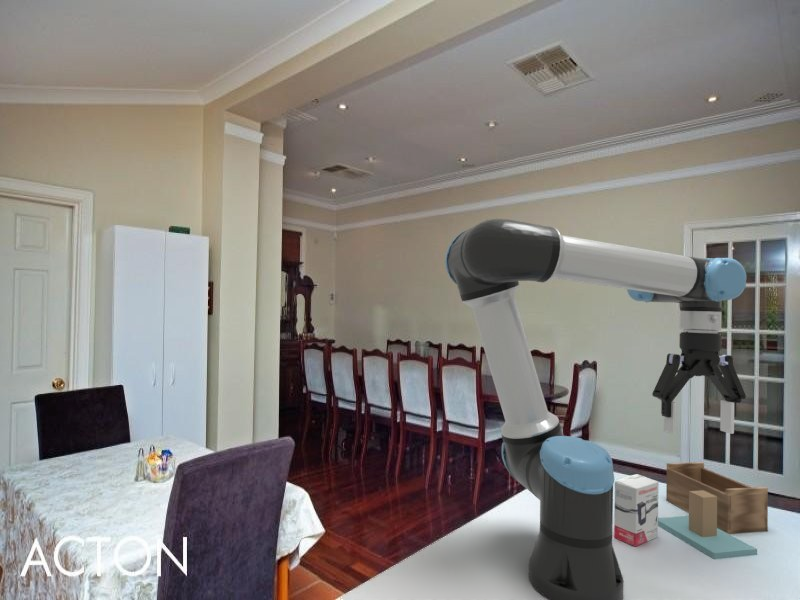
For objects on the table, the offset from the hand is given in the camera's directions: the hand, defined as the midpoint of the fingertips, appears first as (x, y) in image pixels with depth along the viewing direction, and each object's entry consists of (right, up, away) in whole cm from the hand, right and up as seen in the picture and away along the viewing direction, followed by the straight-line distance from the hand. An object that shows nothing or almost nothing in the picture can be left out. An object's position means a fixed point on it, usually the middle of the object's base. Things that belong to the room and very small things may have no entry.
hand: (698, 432), depth 100 cm
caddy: (+10, -22, +11) cm, 27 cm away
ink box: (-14, -22, -2) cm, 26 cm away
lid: (0, -22, -1) cm, 22 cm away
